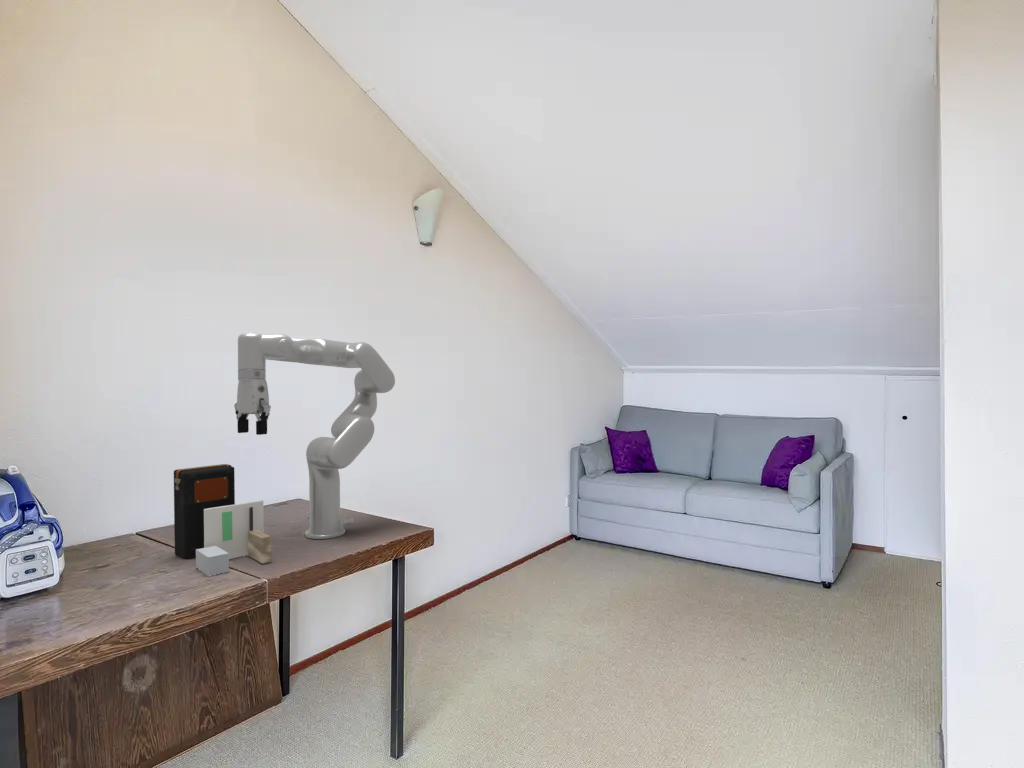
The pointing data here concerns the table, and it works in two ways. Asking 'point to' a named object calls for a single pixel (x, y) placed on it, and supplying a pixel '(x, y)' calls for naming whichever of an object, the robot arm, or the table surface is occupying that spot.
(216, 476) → the voltmeter
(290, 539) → the table surface
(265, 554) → the tall beige wooden block
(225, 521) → the white board with blocks
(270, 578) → the table surface
